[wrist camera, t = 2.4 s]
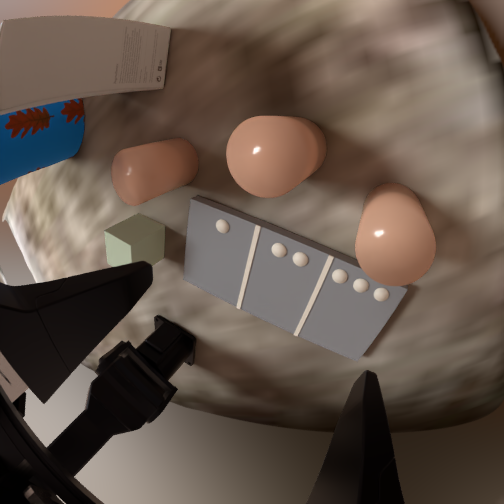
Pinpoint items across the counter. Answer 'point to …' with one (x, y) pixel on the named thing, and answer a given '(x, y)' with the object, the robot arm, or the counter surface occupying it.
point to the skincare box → (78, 59)
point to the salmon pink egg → (274, 153)
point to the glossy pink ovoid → (153, 169)
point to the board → (286, 279)
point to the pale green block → (135, 241)
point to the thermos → (39, 137)
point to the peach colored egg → (394, 236)
